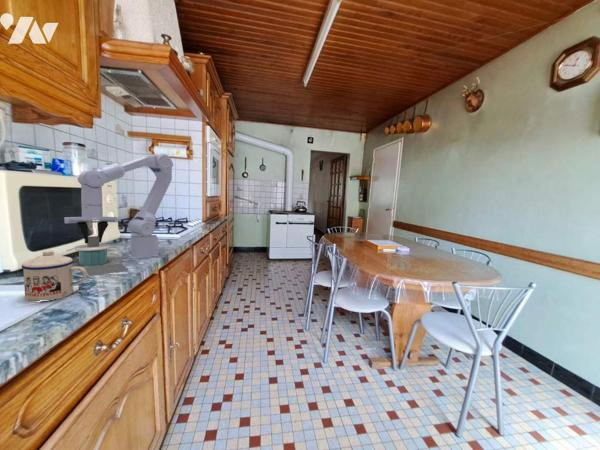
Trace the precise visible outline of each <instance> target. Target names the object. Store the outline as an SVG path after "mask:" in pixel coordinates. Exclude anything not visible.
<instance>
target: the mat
mask: <svg viewBox="0 0 600 450" xmlns="http://www.w3.org/2000/svg"><path fill="white" fill-rule="evenodd" d="M84 269H85V270H86V271H87V275H88V276H89V277H94V276H100V275H101V276H102V275H107V274H113V273H115V274H116V273H121V272H127V271H130V269H128V268H127V267H126V266H125V265H124V264H123V263H114V264H104V265H96V266H88V267H84Z"/></svg>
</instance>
